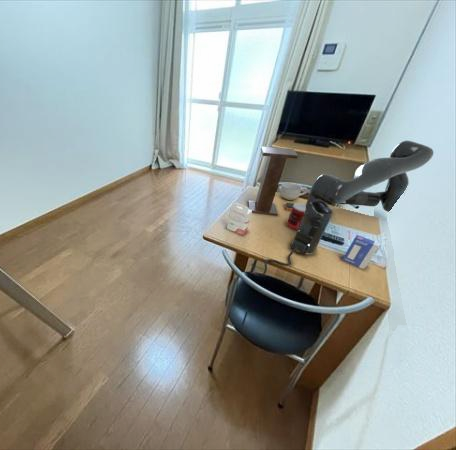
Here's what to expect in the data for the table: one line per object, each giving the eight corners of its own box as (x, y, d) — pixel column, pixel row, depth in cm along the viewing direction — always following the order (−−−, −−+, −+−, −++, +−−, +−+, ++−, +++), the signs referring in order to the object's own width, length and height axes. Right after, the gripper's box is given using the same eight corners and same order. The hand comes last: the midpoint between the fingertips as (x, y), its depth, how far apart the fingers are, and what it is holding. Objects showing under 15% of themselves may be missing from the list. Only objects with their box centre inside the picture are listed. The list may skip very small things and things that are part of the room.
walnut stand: (274, 204, 139) (293, 148, 121) (278, 215, 130) (298, 156, 112) (247, 201, 142) (261, 145, 124) (248, 212, 133) (263, 153, 115)
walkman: (341, 260, 102) (355, 236, 95) (343, 256, 103) (357, 233, 97) (364, 269, 97) (380, 246, 90) (366, 266, 99) (381, 242, 92)
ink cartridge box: (247, 231, 118) (254, 204, 110) (242, 235, 115) (249, 208, 107) (231, 224, 123) (237, 198, 115) (226, 228, 120) (231, 201, 112)
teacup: (277, 199, 145) (281, 186, 140) (279, 192, 153) (282, 180, 148) (303, 205, 140) (308, 192, 135) (303, 197, 148) (308, 184, 143)
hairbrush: (327, 210, 135) (329, 207, 133) (330, 215, 131) (332, 211, 129) (284, 205, 139) (285, 202, 138) (286, 209, 135) (287, 206, 134)
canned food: (304, 224, 123) (312, 205, 117) (302, 232, 118) (310, 212, 112) (287, 219, 127) (294, 201, 120) (285, 227, 121) (292, 207, 115)
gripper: (351, 184, 129) (317, 181, 132) (363, 197, 118) (326, 193, 121) (345, 197, 133) (312, 194, 136) (356, 210, 122) (320, 206, 125)
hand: (318, 193), depth 128 cm, fingers open, 8 cm apart
